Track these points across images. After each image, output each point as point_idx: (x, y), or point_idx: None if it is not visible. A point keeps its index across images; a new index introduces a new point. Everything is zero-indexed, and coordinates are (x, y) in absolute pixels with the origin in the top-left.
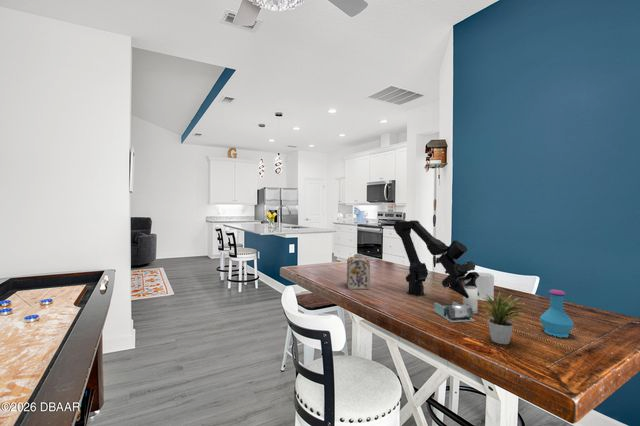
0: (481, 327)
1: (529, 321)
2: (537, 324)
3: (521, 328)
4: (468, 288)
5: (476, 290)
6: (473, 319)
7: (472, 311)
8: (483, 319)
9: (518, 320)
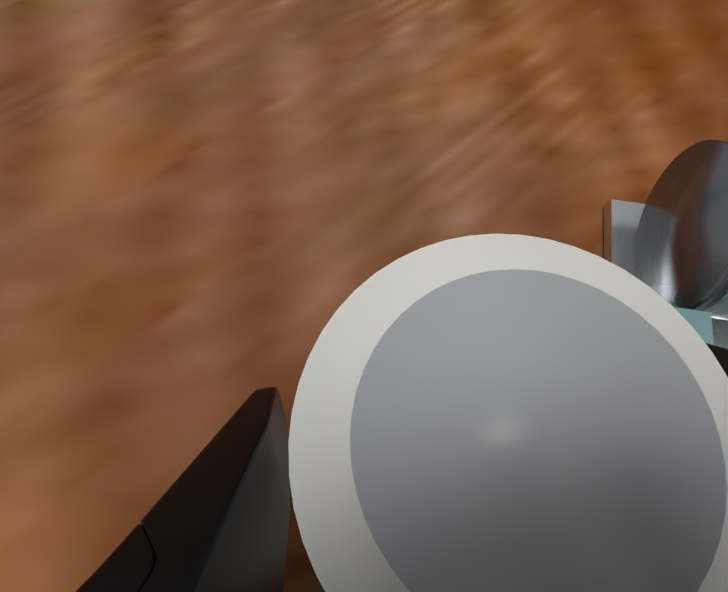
0: (640, 93)
1: (110, 75)
2: (125, 23)
3: (332, 8)
4: (665, 375)
5: (461, 247)
6: (619, 202)
7: (689, 148)
8: (474, 215)
9: (174, 112)
